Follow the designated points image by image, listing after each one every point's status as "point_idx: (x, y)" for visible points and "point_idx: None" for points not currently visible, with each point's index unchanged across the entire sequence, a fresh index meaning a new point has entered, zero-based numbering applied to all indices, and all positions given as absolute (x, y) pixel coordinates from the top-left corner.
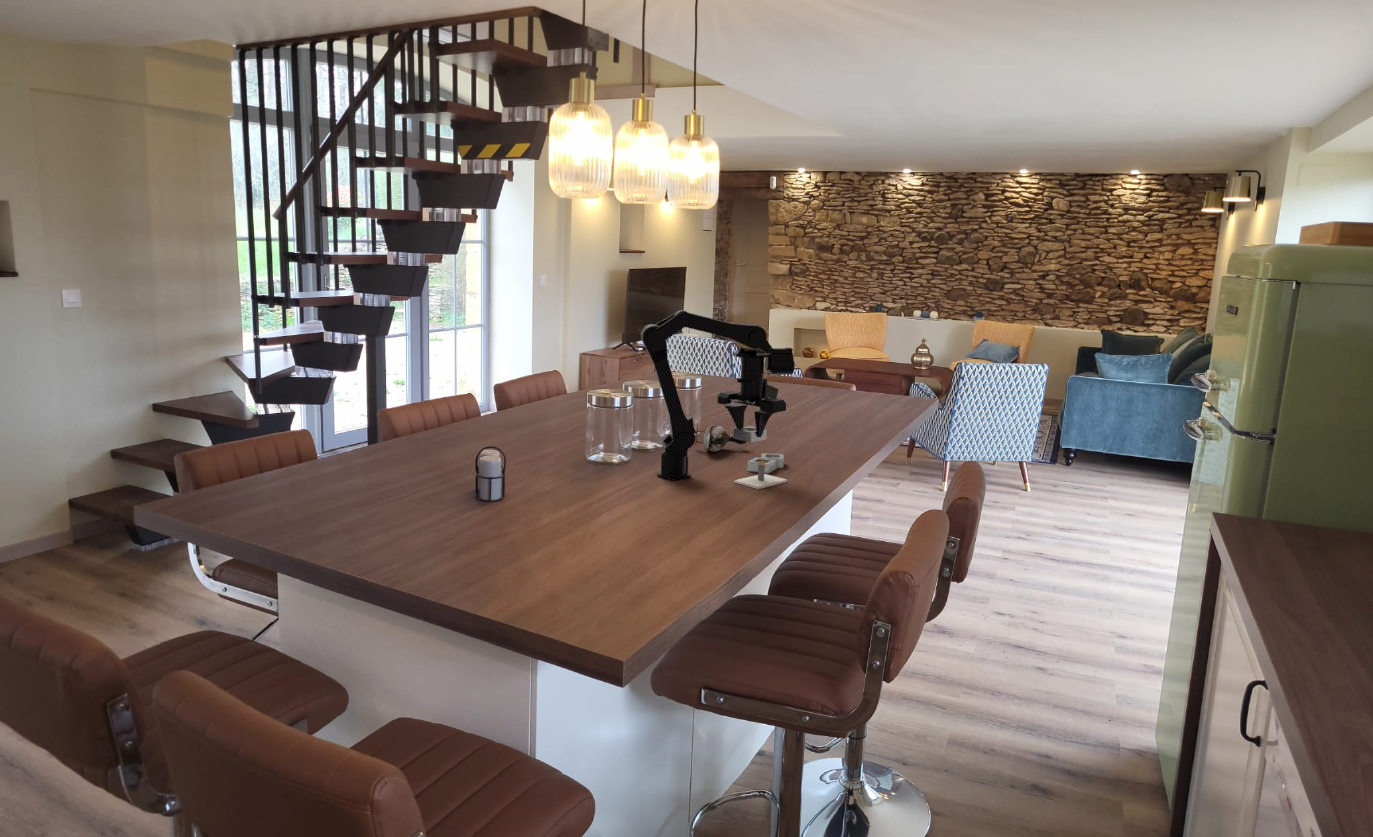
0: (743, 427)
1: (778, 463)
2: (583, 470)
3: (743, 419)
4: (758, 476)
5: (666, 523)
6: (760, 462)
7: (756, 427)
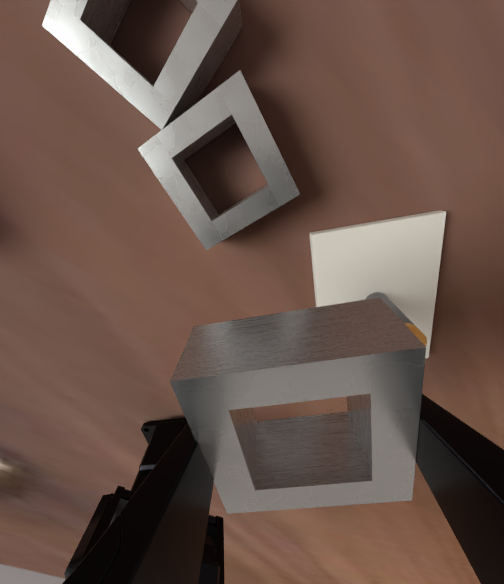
0: (208, 447)
1: (223, 42)
2: (68, 524)
3: (164, 524)
4: None
5: (449, 564)
6: None
7: (454, 520)
